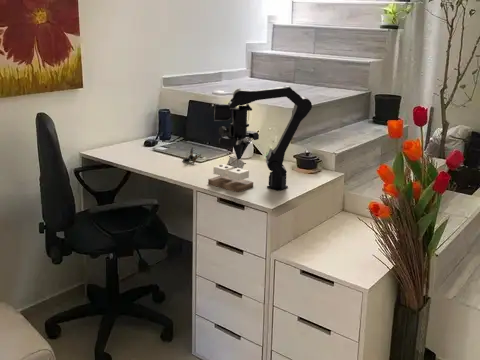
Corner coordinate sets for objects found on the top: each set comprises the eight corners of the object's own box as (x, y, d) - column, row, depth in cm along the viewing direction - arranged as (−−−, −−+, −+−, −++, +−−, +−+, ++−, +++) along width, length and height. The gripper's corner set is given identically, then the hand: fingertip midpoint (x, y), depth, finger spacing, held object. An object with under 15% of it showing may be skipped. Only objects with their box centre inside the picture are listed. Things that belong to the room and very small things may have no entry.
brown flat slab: (253, 186, 238) (253, 182, 238) (237, 192, 231) (238, 187, 230) (224, 178, 248) (224, 174, 247) (208, 183, 241) (208, 179, 240)
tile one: (248, 177, 236) (248, 169, 235) (239, 180, 232) (239, 172, 231) (237, 174, 240) (237, 166, 239) (228, 177, 235) (228, 169, 234)
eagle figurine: (204, 160, 272) (195, 152, 279) (198, 149, 267) (189, 142, 274) (191, 170, 270) (183, 162, 277) (185, 159, 266) (176, 151, 272)
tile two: (233, 173, 241) (233, 166, 240) (224, 176, 237) (224, 168, 236) (222, 170, 245) (223, 163, 244) (213, 173, 240) (213, 166, 239)
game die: (238, 182, 256) (243, 168, 249) (220, 174, 257) (225, 160, 249) (245, 168, 262) (250, 154, 254) (228, 160, 262) (232, 146, 255)
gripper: (239, 115, 241) (238, 151, 245) (208, 121, 227) (208, 159, 231) (260, 119, 234) (258, 156, 239) (230, 125, 220) (229, 165, 225)
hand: (238, 159), depth 234 cm, fingers closed
